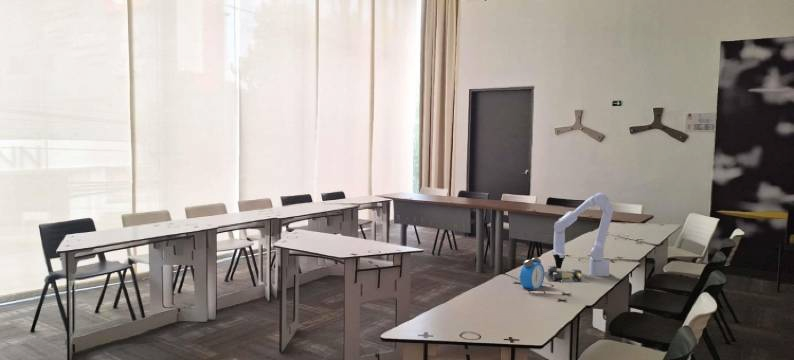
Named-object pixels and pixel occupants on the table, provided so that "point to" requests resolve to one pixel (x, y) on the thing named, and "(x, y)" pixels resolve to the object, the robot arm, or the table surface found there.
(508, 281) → the table surface
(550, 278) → the dark grey square plate
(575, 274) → the knob
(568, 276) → the knob
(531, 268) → the alarm clock
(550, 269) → the knob
